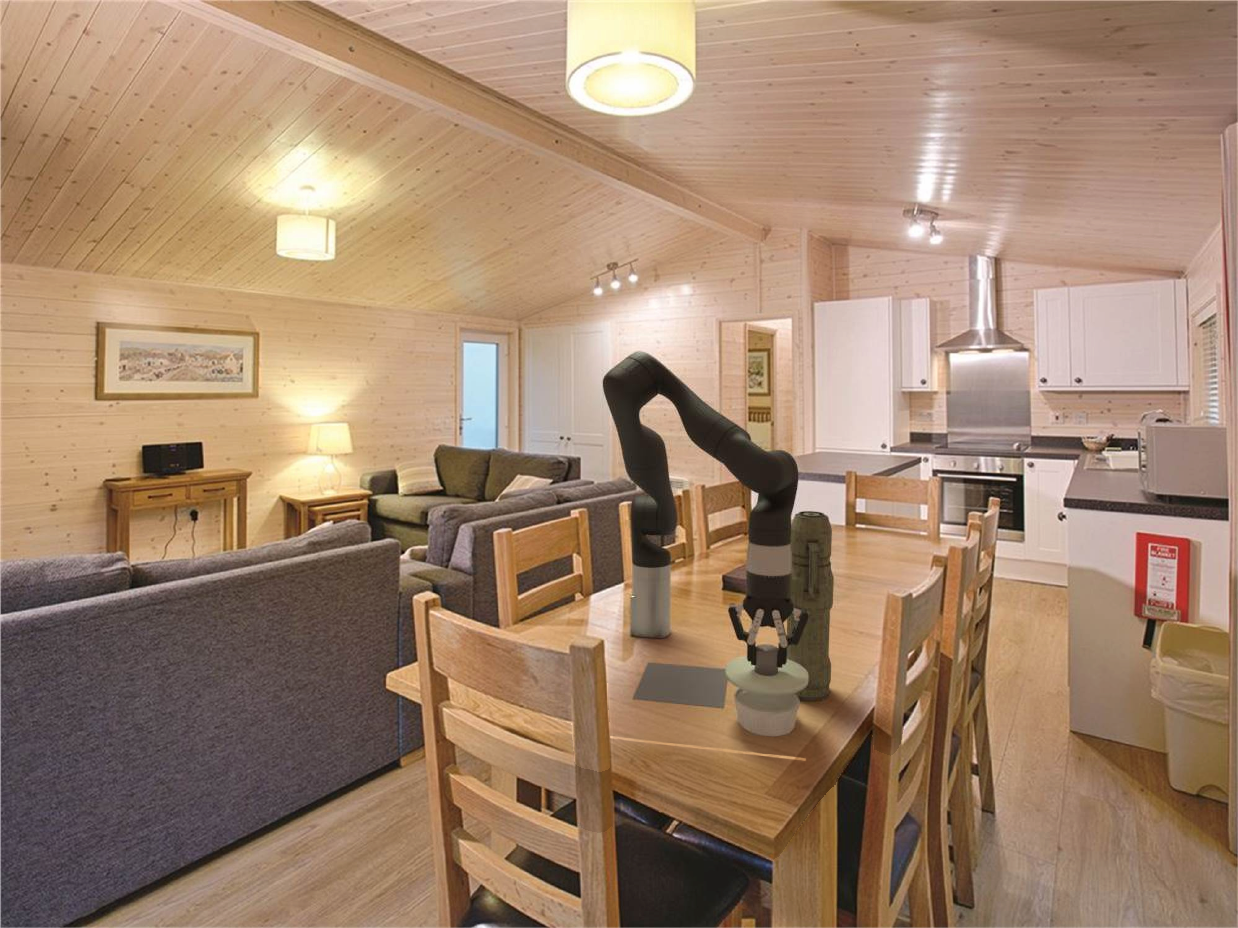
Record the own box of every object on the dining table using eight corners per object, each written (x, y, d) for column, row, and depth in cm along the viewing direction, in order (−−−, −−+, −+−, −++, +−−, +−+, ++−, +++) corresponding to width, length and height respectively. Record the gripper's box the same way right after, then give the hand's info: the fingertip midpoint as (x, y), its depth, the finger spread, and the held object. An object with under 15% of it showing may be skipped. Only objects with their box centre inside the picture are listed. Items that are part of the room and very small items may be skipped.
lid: (723, 690, 107) (723, 661, 107) (727, 657, 121) (727, 631, 120) (811, 698, 104) (812, 669, 104) (805, 663, 118) (806, 636, 117)
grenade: (821, 677, 132) (826, 507, 128) (837, 705, 120) (844, 519, 116) (777, 676, 132) (781, 507, 129) (789, 704, 121) (794, 519, 117)
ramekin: (752, 703, 121) (752, 676, 121) (809, 722, 114) (810, 694, 114) (721, 727, 113) (722, 698, 112) (781, 749, 106) (782, 718, 105)
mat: (632, 701, 122) (632, 698, 122) (648, 664, 139) (648, 662, 139) (723, 710, 119) (723, 707, 118) (728, 671, 135) (728, 669, 135)
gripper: (725, 571, 108) (723, 670, 110) (814, 576, 105) (810, 677, 107) (727, 560, 116) (726, 652, 117) (810, 564, 113) (808, 659, 114)
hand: (766, 664), depth 112 cm, fingers closed on lid, 4 cm apart
